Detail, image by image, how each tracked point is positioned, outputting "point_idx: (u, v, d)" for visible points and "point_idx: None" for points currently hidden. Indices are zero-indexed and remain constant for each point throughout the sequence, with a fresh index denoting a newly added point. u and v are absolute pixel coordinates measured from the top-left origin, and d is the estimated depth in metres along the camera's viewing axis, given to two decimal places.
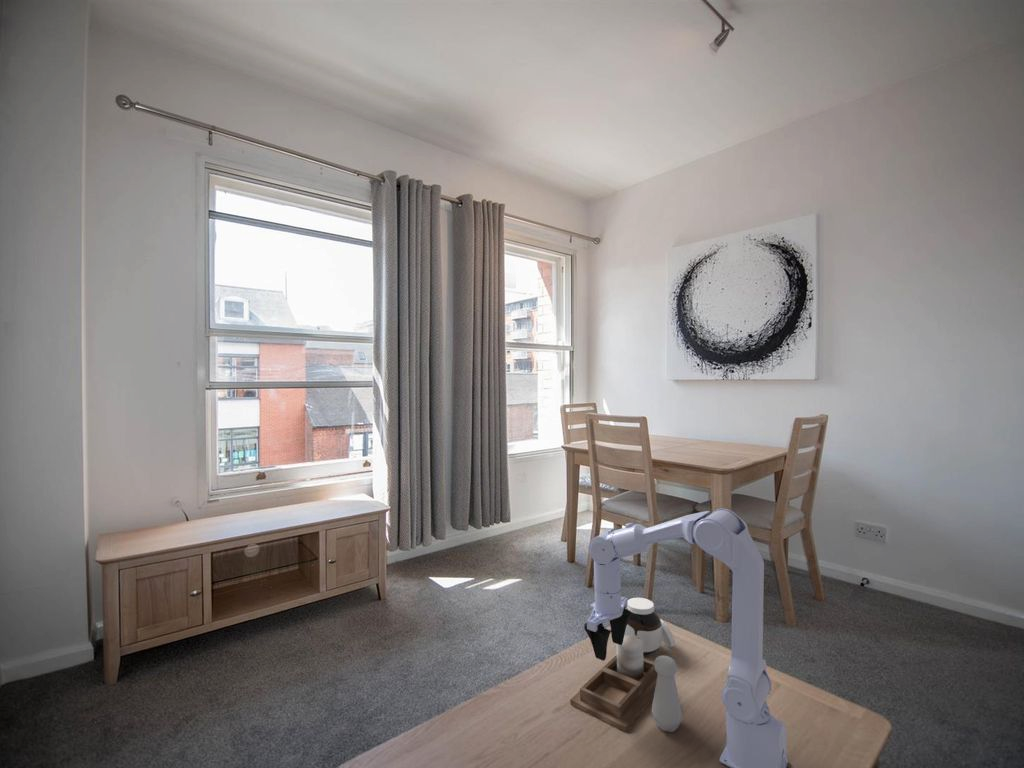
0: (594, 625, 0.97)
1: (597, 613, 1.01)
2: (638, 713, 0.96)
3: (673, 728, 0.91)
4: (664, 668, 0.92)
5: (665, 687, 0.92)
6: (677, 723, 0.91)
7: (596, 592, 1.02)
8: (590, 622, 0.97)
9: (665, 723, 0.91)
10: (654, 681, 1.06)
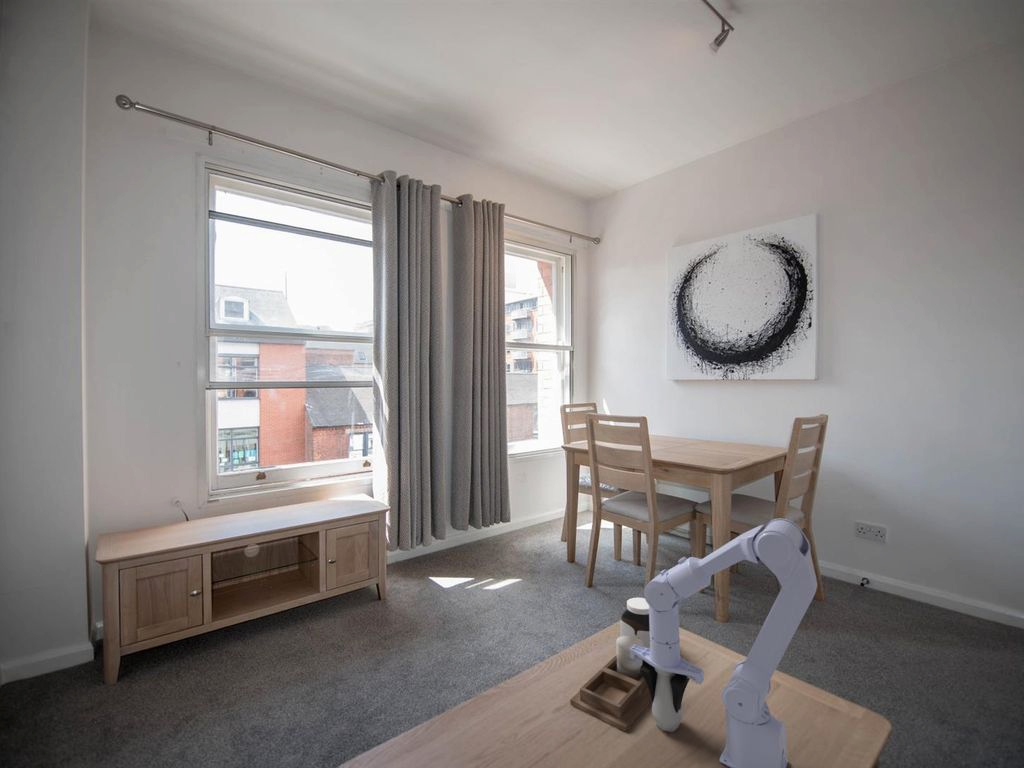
0: (630, 651, 0.98)
1: None
2: (638, 713, 0.96)
3: (673, 728, 0.91)
4: None
5: (665, 687, 0.92)
6: (677, 723, 0.91)
7: None
8: None
9: (665, 723, 0.91)
10: None
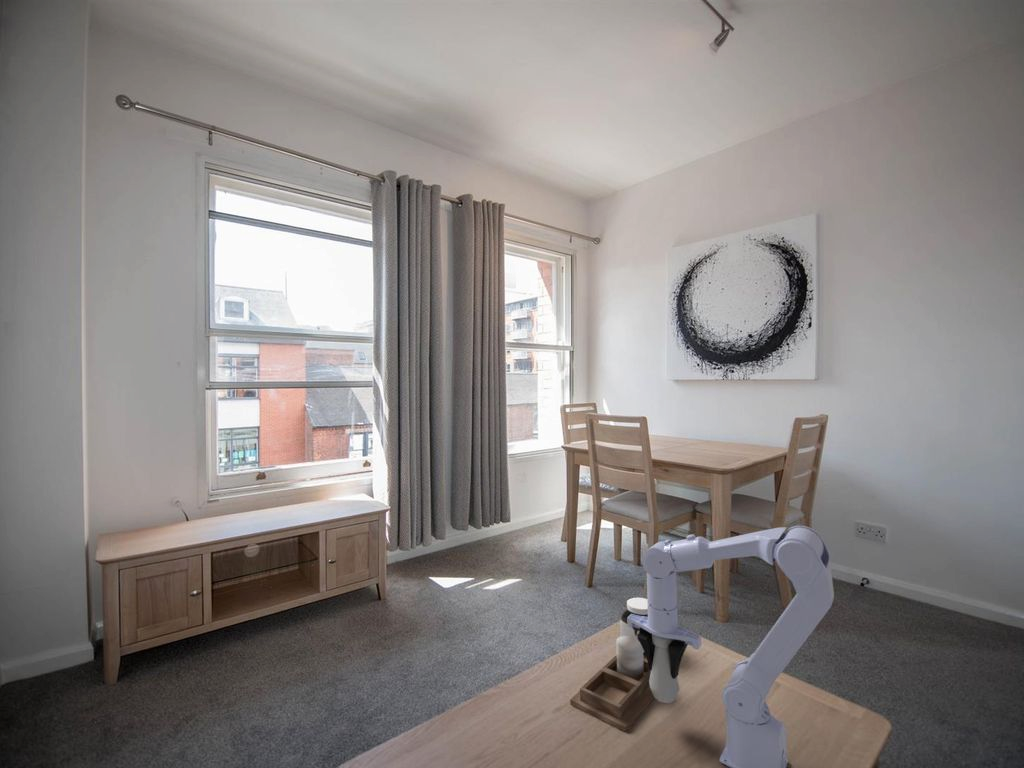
0: (627, 620, 0.98)
1: None
2: (638, 713, 0.96)
3: (670, 699, 0.92)
4: (661, 640, 0.92)
5: (662, 659, 0.92)
6: (674, 695, 0.92)
7: None
8: None
9: (661, 694, 0.92)
10: None
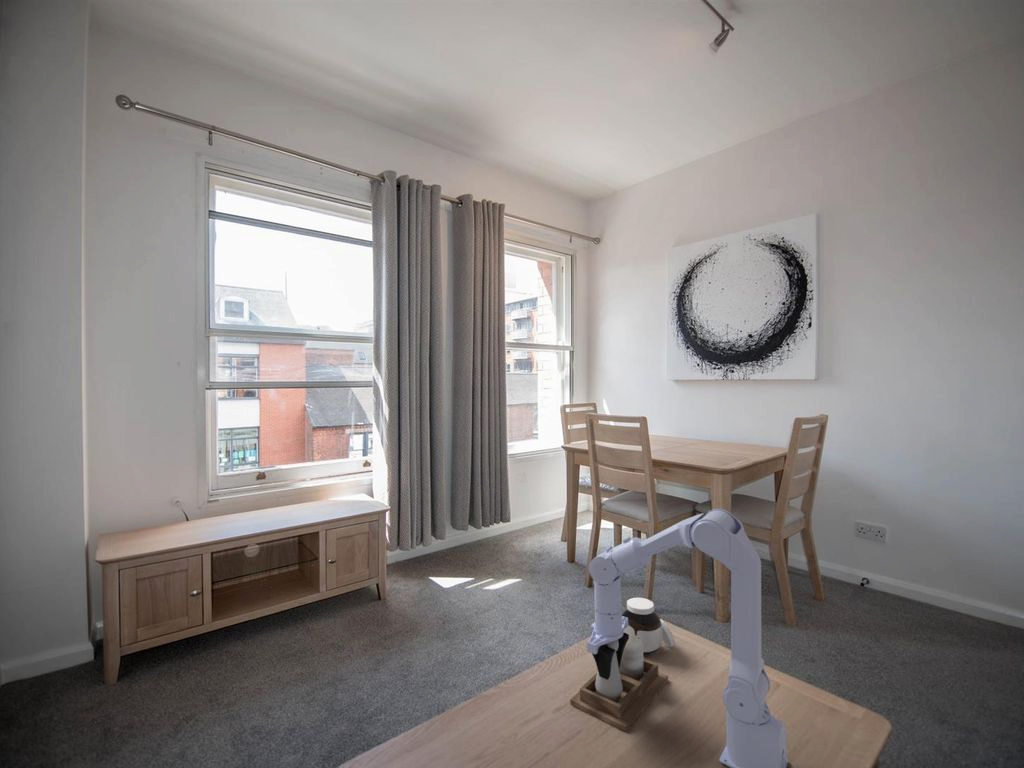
0: (594, 647, 0.95)
1: (597, 634, 0.99)
2: (638, 713, 0.96)
3: None
4: (617, 642, 1.00)
5: (616, 660, 1.00)
6: None
7: (596, 613, 1.00)
8: (590, 644, 0.95)
9: (621, 692, 0.99)
10: (654, 681, 1.06)
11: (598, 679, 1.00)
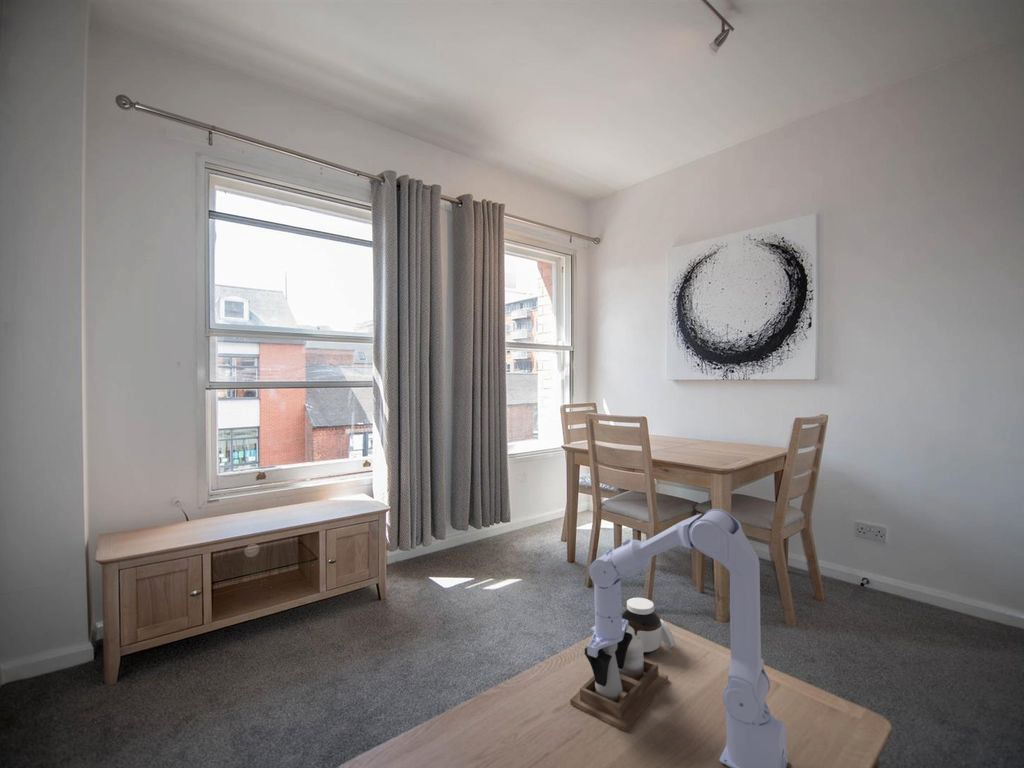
0: (594, 651, 0.95)
1: (597, 637, 0.99)
2: (638, 713, 0.96)
3: None
4: None
5: (615, 660, 1.00)
6: None
7: (596, 616, 1.00)
8: (590, 647, 0.95)
9: (621, 692, 0.99)
10: (654, 681, 1.06)
11: None
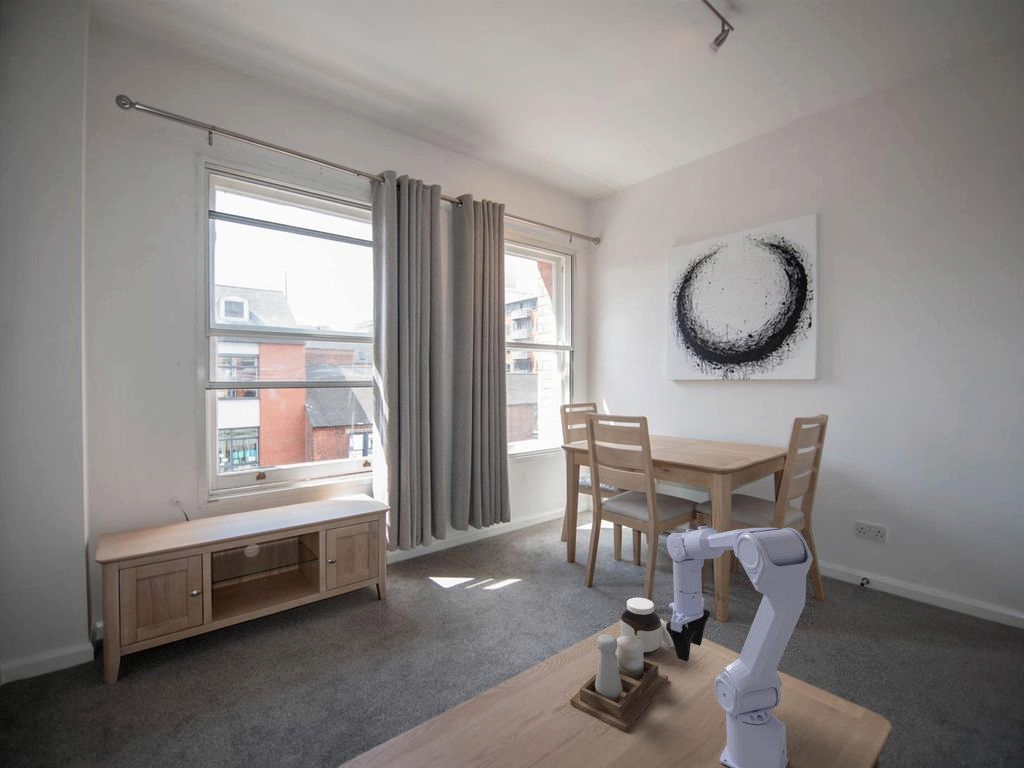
0: (679, 625, 0.95)
1: (678, 613, 1.00)
2: (638, 713, 0.96)
3: None
4: (616, 642, 1.00)
5: (615, 660, 1.00)
6: None
7: (677, 592, 1.00)
8: (674, 622, 0.96)
9: (621, 692, 0.99)
10: (654, 681, 1.06)
11: (597, 680, 1.00)
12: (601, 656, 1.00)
